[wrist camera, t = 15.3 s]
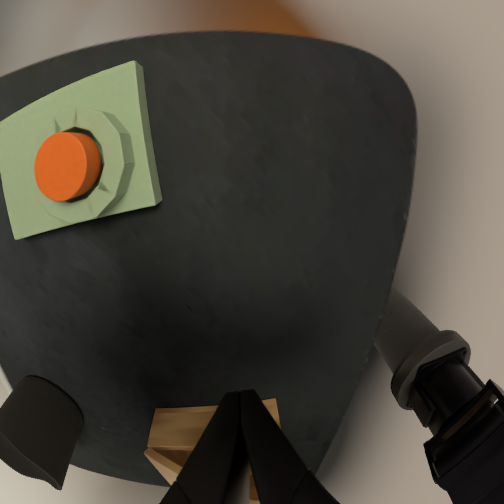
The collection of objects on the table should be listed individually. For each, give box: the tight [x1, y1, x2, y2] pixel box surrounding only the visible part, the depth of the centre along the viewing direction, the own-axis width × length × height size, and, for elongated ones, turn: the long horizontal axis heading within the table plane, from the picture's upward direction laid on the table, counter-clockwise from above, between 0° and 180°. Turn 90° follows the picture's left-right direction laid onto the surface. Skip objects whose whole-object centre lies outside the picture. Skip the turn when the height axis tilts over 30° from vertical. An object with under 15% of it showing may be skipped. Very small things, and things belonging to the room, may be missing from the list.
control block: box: [0, 61, 162, 240], centre depth 14 cm, size 12×9×4 cm
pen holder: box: [0, 376, 83, 490], centre depth 19 cm, size 9×9×10 cm
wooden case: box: [147, 398, 281, 502], centre depth 24 cm, size 11×15×5 cm
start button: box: [34, 132, 101, 201], centre depth 12 cm, size 4×4×2 cm
